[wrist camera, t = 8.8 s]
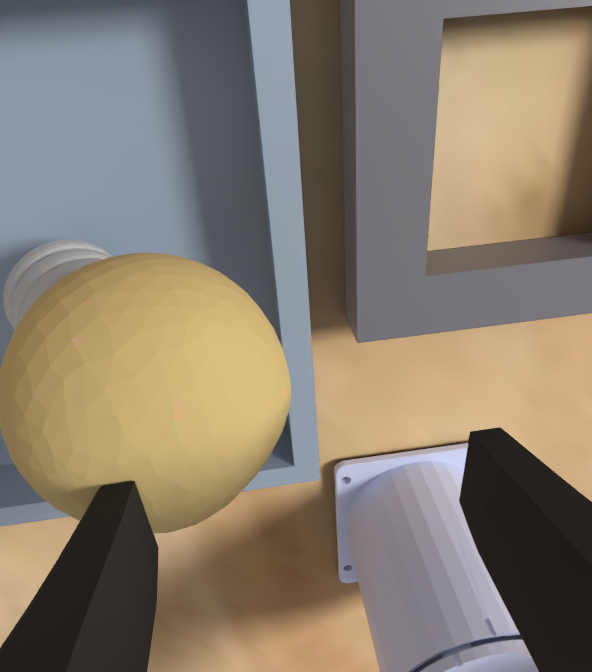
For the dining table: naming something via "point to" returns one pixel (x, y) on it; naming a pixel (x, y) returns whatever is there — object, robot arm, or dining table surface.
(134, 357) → the light bulb
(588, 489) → the dining table surface
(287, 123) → the parts tray
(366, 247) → the socket block
